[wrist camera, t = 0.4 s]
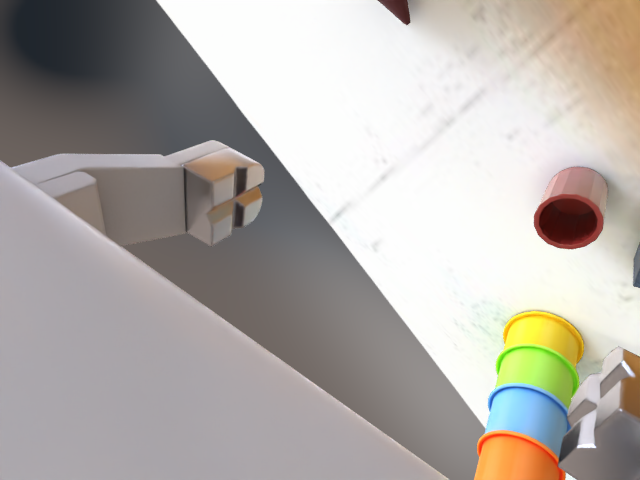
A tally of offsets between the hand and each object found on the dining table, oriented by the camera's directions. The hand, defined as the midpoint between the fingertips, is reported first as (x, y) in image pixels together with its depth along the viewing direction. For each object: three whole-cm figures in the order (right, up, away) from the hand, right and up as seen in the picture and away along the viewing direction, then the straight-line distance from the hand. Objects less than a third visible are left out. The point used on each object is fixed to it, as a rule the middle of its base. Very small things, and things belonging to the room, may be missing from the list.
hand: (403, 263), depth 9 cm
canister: (+29, +6, +41) cm, 50 cm away
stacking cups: (+30, -14, +52) cm, 62 cm away
